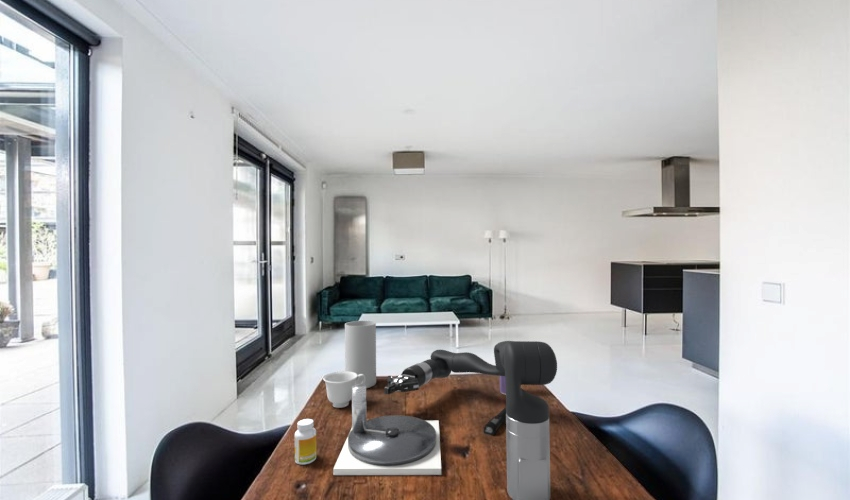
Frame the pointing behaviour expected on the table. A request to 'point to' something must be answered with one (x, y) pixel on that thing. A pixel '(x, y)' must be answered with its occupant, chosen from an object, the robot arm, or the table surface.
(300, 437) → the supplement bottle
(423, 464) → the dial base plate
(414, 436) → the dial
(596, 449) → the table surface
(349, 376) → the teacup
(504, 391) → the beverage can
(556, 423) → the table surface
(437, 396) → the table surface
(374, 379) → the cylinder vase
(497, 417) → the electric trimmer
